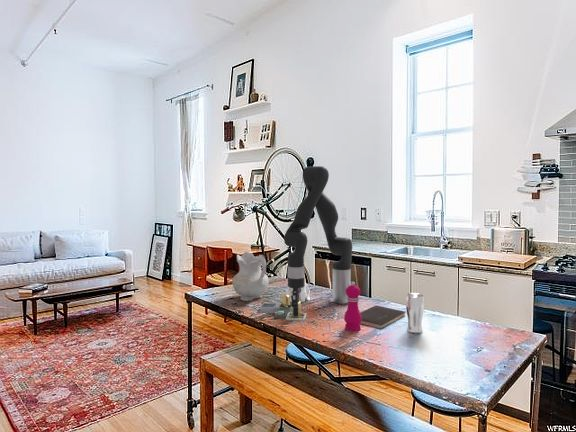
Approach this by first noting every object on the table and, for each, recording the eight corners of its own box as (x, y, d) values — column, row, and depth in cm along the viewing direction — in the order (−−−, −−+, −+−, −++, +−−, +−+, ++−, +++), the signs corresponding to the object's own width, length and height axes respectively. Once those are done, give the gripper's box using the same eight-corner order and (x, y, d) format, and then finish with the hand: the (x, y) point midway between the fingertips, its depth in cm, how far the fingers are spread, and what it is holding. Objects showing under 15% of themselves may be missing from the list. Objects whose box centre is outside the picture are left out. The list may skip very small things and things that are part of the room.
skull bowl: (318, 297, 212) (310, 279, 206) (303, 316, 204) (295, 299, 198) (303, 293, 219) (295, 276, 213) (288, 311, 211) (279, 295, 206)
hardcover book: (405, 316, 185) (405, 311, 185) (381, 330, 168) (381, 324, 168) (374, 309, 196) (374, 305, 195) (349, 321, 178) (349, 316, 178)
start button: (284, 315, 182) (284, 310, 182) (283, 317, 179) (283, 312, 179) (278, 314, 183) (278, 310, 182) (277, 317, 180) (276, 312, 180)
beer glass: (414, 335, 160) (415, 298, 159) (402, 329, 166) (402, 294, 165) (427, 332, 163) (428, 295, 162) (414, 327, 169) (415, 292, 168)
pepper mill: (363, 327, 170) (363, 280, 168) (359, 333, 163) (359, 284, 162) (347, 325, 173) (347, 279, 171) (341, 330, 166) (342, 282, 165)
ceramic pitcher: (279, 299, 217) (280, 253, 217) (257, 305, 200) (258, 255, 200) (247, 294, 228) (248, 250, 228) (224, 299, 212) (225, 252, 212)
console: (287, 317, 183) (287, 312, 183) (285, 321, 178) (285, 315, 178) (276, 317, 184) (276, 311, 184) (274, 320, 179) (274, 315, 179)
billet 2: (301, 315, 182) (301, 300, 181) (300, 318, 178) (300, 303, 177) (292, 315, 182) (292, 300, 182) (291, 318, 178) (291, 302, 178)
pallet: (295, 309, 195) (295, 303, 195) (292, 316, 185) (292, 309, 185) (263, 308, 198) (263, 301, 197) (258, 314, 188) (258, 307, 188)
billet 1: (290, 308, 192) (290, 294, 192) (289, 311, 188) (289, 296, 188) (282, 308, 193) (282, 294, 192) (280, 311, 189) (280, 296, 189)
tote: (306, 317, 183) (306, 313, 183) (304, 323, 175) (304, 318, 175) (288, 316, 185) (288, 312, 184) (285, 322, 176) (285, 318, 176)
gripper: (302, 280, 171) (302, 319, 172) (306, 272, 185) (306, 309, 186) (285, 279, 172) (285, 318, 174) (290, 272, 186) (290, 308, 187)
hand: (296, 313), depth 180 cm, fingers closed on billet 2, 4 cm apart
